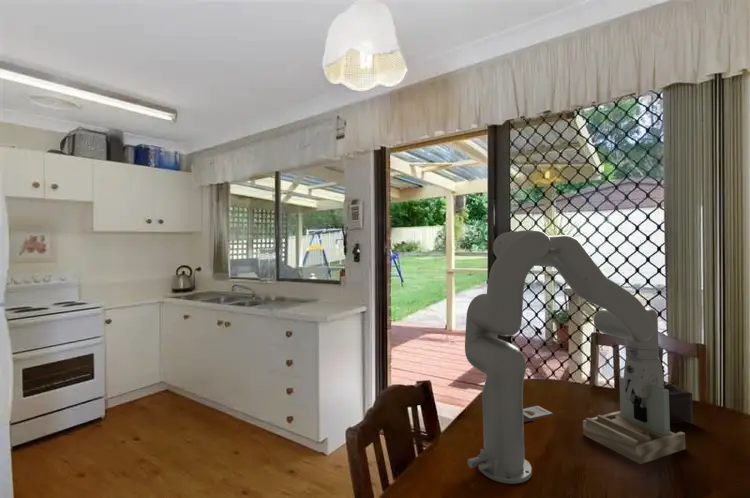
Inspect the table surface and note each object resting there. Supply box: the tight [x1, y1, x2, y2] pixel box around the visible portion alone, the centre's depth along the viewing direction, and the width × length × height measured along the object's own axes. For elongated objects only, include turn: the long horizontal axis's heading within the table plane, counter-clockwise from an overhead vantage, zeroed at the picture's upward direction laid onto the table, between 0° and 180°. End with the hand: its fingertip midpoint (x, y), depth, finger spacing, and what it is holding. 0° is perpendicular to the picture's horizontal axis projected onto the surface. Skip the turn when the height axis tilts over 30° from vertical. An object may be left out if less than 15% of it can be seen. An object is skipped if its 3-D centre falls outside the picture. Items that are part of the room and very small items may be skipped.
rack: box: [582, 410, 686, 465], centre depth 102 cm, size 17×16×6 cm
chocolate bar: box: [523, 403, 555, 425], centre depth 122 cm, size 9×1×18 cm
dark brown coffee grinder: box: [661, 364, 695, 425], centre depth 120 cm, size 16×11×18 cm
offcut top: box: [612, 417, 649, 436], centre depth 103 cm, size 3×8×2 cm, turn 25°
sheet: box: [618, 375, 671, 436], centre depth 104 cm, size 2×12×15 cm, turn 21°
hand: (643, 418), depth 104 cm, fingers closed on sheet, 2 cm apart
